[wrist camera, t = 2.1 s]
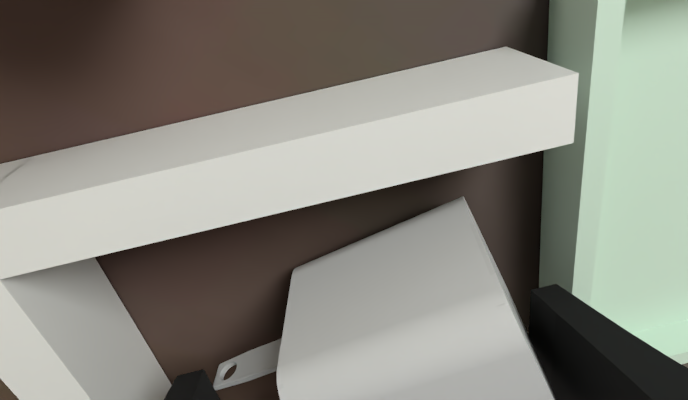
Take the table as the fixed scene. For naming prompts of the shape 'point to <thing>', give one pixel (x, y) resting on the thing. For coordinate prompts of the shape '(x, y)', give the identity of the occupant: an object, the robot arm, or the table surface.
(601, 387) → the robot arm
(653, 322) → the tray
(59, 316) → the bay
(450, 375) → the usb wall charger
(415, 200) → the table surface
